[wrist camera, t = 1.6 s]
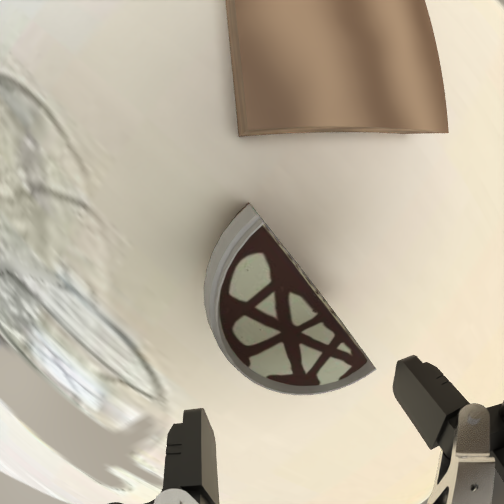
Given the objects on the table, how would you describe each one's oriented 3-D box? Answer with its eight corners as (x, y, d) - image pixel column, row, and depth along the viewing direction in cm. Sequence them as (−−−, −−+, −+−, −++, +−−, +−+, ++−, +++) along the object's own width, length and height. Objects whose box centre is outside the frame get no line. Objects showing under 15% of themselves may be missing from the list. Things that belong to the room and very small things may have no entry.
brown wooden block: (238, 137, 21) (248, 130, 15) (220, -50, 15) (224, -91, 10) (402, 133, 22) (448, 133, 17) (370, -35, 16) (400, -62, 11)
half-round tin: (172, 240, 22) (146, 301, 13) (236, 186, 22) (255, 211, 12) (270, 343, 26) (297, 428, 17) (326, 301, 26) (379, 373, 16)
